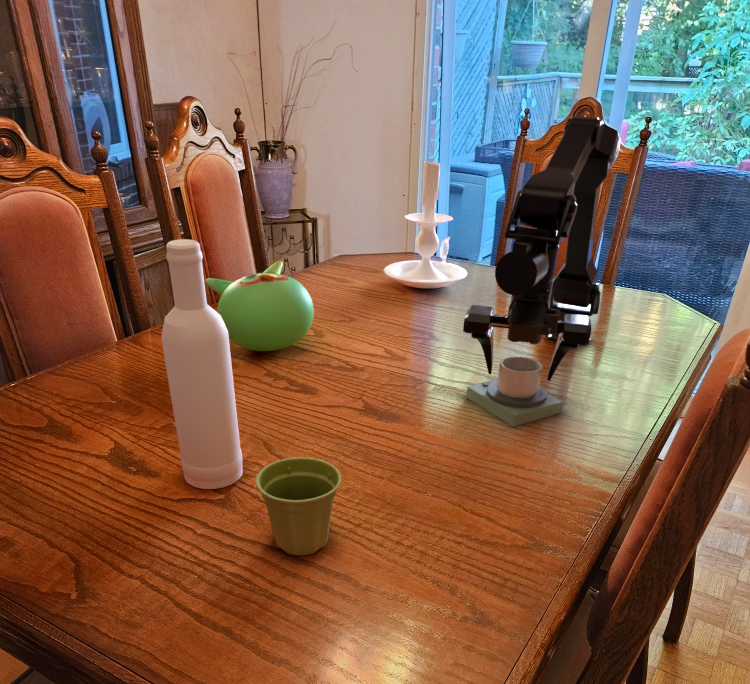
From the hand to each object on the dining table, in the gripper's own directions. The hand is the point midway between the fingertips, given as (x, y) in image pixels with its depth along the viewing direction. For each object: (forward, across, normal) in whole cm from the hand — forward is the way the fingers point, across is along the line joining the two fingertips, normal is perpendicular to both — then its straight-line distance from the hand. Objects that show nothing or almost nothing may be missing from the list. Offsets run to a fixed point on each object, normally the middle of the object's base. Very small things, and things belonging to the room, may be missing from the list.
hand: (518, 376), depth 106 cm
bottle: (+5, -38, -33) cm, 50 cm away
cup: (+2, 0, 0) cm, 2 cm away
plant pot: (+5, -22, -43) cm, 49 cm away
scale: (+5, 0, 0) cm, 5 cm away
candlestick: (+5, -26, +66) cm, 71 cm away
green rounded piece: (+5, -48, +13) cm, 50 cm away
